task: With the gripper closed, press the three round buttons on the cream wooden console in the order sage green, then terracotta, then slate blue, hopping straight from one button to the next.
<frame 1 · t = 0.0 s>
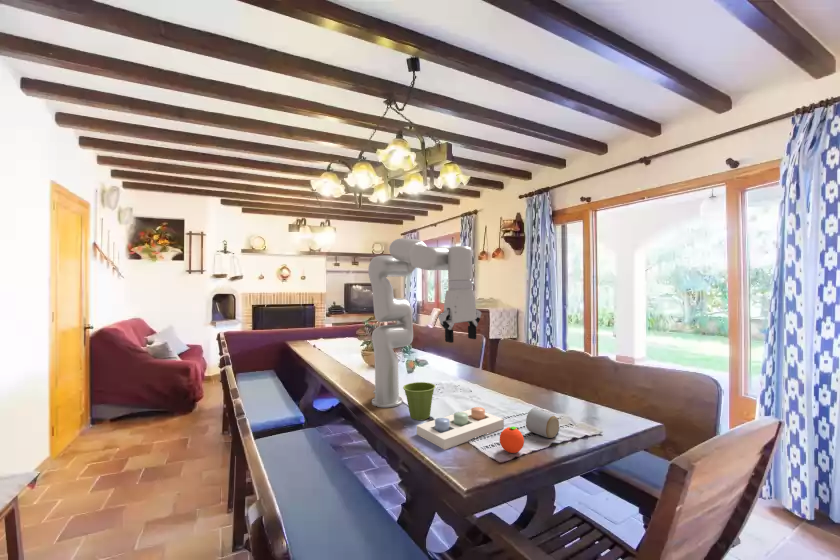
hand: (461, 340, 120), 31 cm above the table, tool pointing down, fingers open, 9 cm apart
grey canister: (544, 434, 124), on the table
plant pot: (419, 417, 140), on the table
clementine: (512, 451, 112), on the table
terracotta button: (478, 414, 132), point 4 cm above the table, slide at 0.0 cm
blue button: (442, 425, 122), point 4 cm above the table, slide at 0.0 cm
console: (461, 431, 127), on the table
green button: (460, 419, 127), point 4 cm above the table, slide at 0.0 cm
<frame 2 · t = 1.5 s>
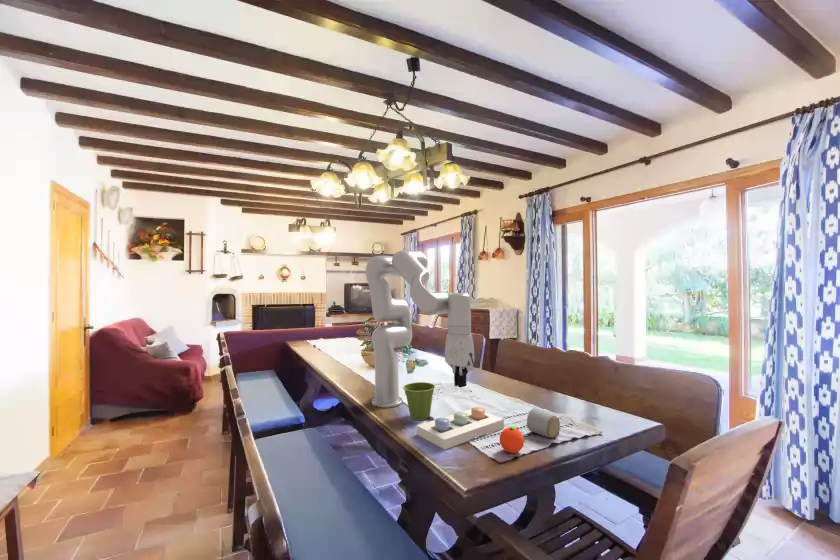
hand: (460, 385, 127), 15 cm above the table, tool pointing down, fingers closed
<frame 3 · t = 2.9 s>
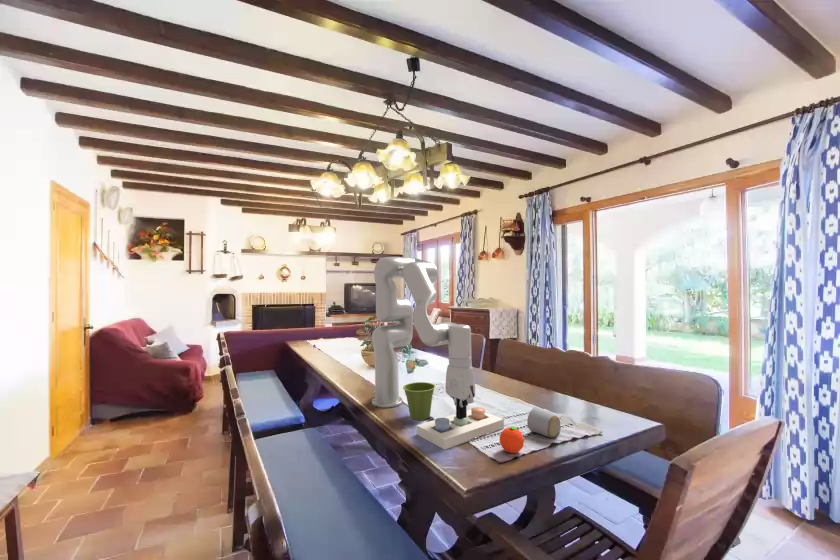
hand: (461, 417, 127), 5 cm above the table, tool pointing down, fingers closed
green button: (460, 422, 127), point 3 cm above the table, slide at 1.0 cm, touching gripper
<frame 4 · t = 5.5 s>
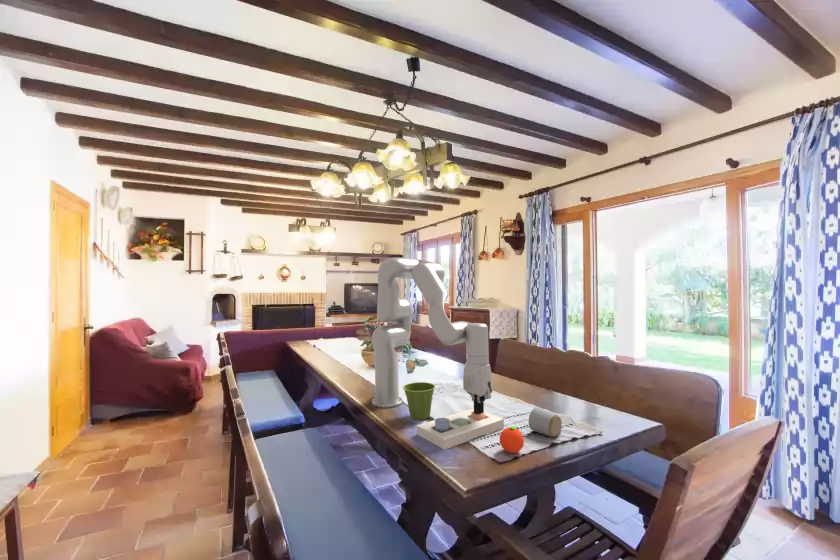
hand: (478, 412, 131), 4 cm above the table, tool pointing down, fingers closed
terracotta button: (478, 417, 132), point 3 cm above the table, slide at 1.2 cm, touching gripper
green button: (460, 425, 127), point 2 cm above the table, slide at 2.0 cm
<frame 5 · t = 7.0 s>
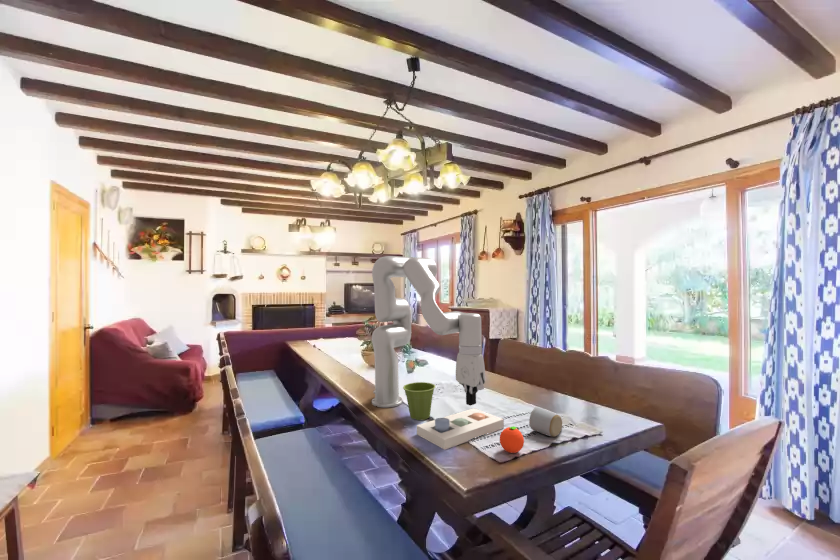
hand: (471, 404, 130), 8 cm above the table, tool pointing down, fingers closed
terracotta button: (478, 419, 132), point 2 cm above the table, slide at 2.0 cm
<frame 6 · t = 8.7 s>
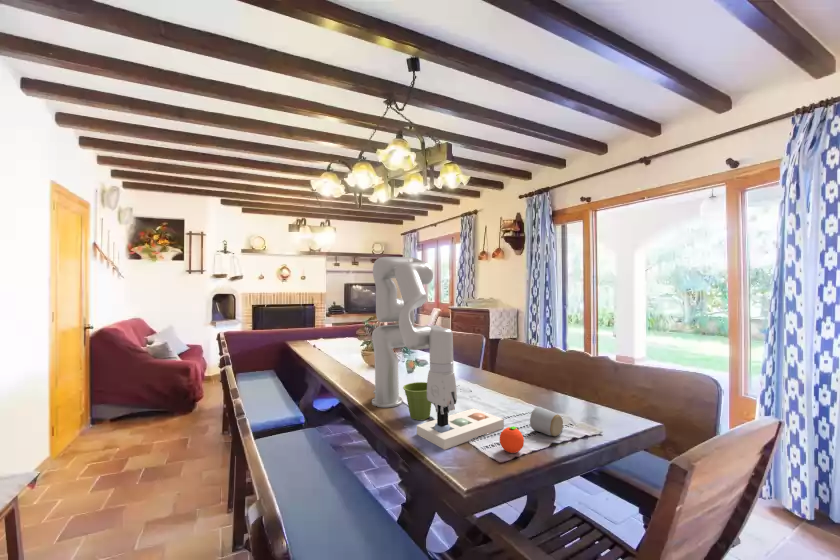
hand: (442, 425, 122), 4 cm above the table, tool pointing down, fingers closed
blue button: (442, 429, 122), point 2 cm above the table, slide at 1.4 cm, touching gripper
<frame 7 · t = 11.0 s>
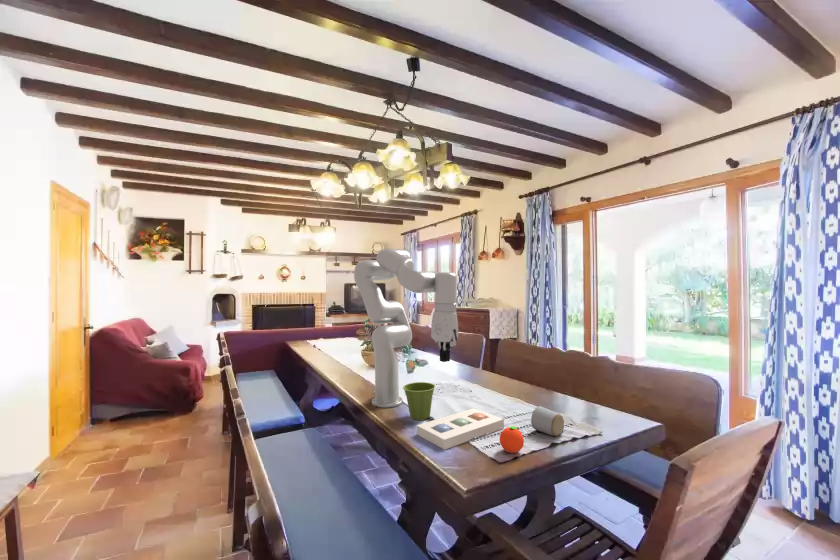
hand: (444, 360, 133), 22 cm above the table, tool pointing down, fingers closed
blue button: (442, 431, 122), point 2 cm above the table, slide at 2.0 cm
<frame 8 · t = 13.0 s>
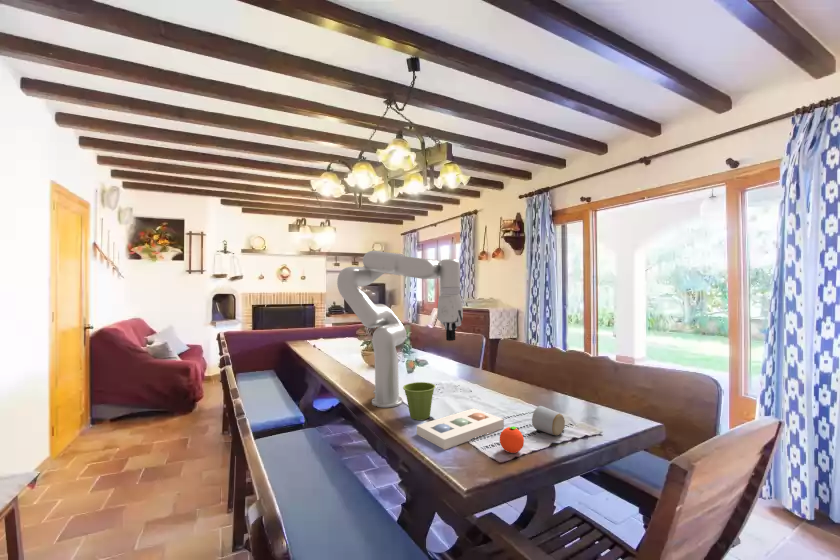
hand: (450, 340, 145), 27 cm above the table, tool pointing down, fingers closed
at the end: green button slide at 2.0 cm; terracotta button slide at 2.0 cm; blue button slide at 2.0 cm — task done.
